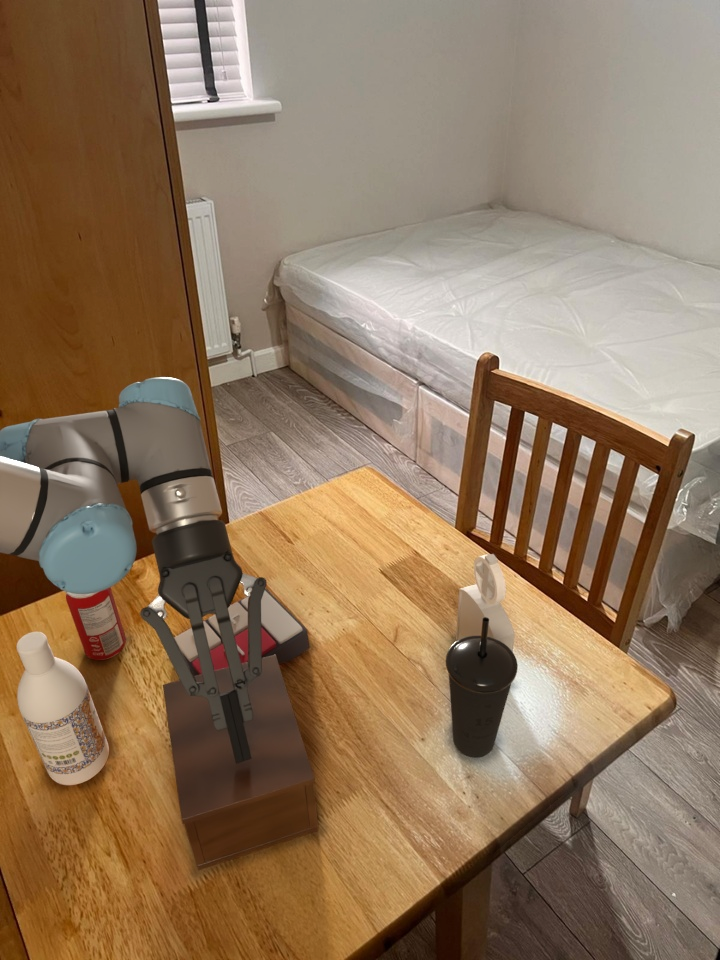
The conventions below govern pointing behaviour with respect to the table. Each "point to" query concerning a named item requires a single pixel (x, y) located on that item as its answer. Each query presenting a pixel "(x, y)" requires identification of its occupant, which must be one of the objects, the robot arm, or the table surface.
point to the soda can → (97, 623)
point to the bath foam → (59, 713)
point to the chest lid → (208, 753)
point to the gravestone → (485, 603)
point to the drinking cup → (478, 690)
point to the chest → (253, 826)
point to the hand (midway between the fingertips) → (243, 758)
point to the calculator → (276, 634)
